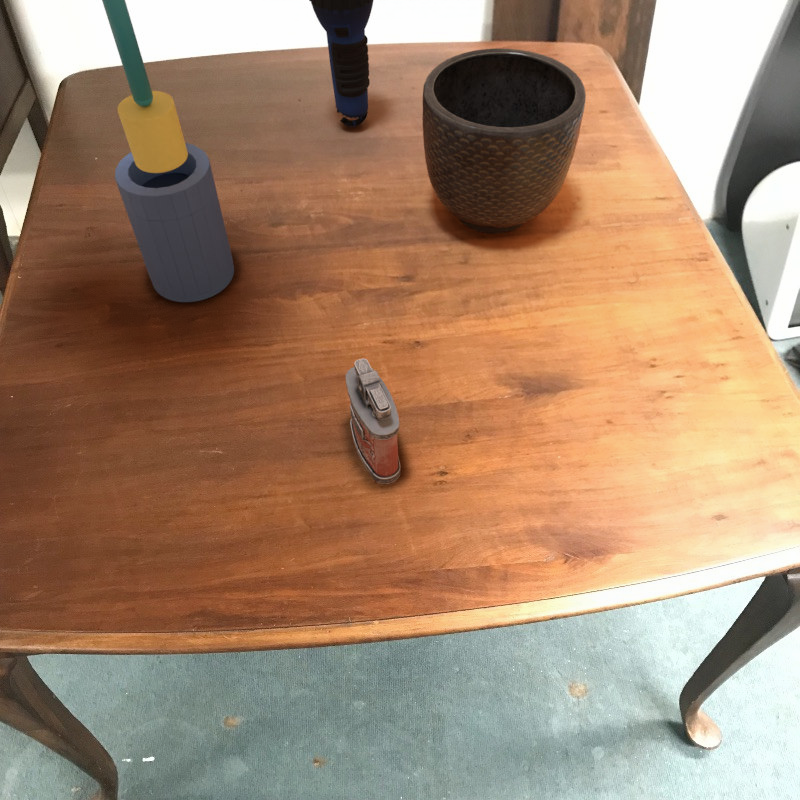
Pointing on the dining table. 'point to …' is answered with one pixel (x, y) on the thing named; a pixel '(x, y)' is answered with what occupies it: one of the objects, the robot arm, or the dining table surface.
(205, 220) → the jar
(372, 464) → the lighter
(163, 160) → the brush
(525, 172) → the planter
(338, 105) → the flashlight
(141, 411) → the dining table surface
